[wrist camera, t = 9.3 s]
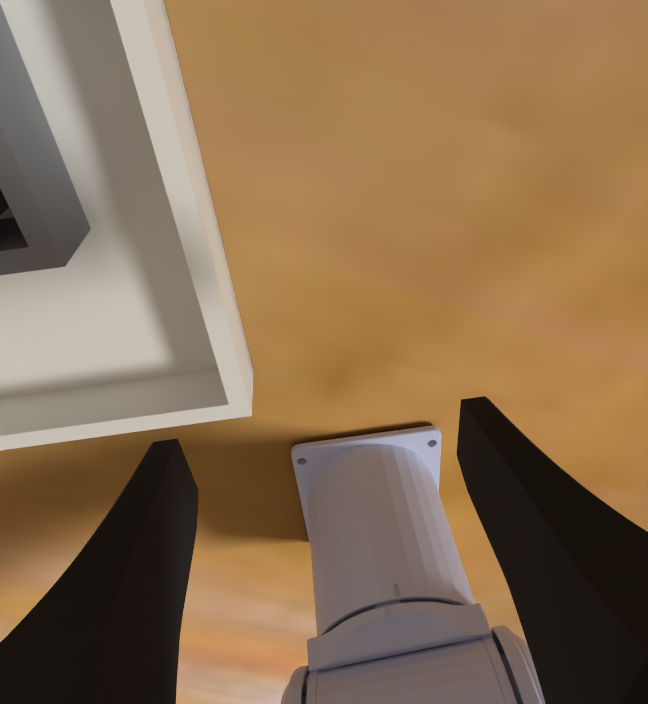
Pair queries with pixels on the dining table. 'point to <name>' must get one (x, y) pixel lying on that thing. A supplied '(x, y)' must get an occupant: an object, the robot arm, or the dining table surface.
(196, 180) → the walled box
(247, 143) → the dining table surface
